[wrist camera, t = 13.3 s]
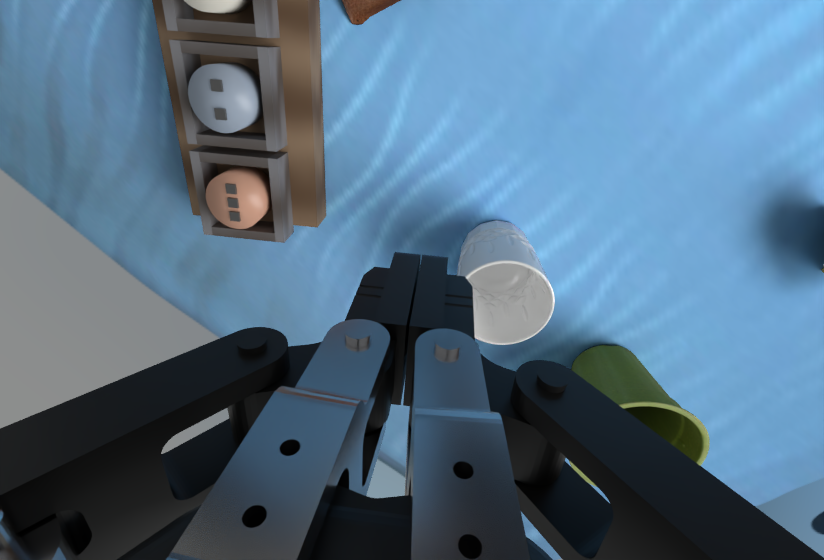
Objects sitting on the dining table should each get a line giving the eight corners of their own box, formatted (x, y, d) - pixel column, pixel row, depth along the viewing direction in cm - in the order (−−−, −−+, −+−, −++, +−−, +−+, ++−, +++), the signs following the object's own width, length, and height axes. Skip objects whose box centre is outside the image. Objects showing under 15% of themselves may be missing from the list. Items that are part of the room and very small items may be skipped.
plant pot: (580, 310, 46) (613, 385, 36) (682, 347, 47) (741, 429, 37) (529, 388, 51) (544, 471, 42) (620, 419, 52) (656, 508, 42)
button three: (219, 162, 38) (199, 172, 35) (272, 167, 38) (257, 177, 35) (226, 214, 40) (209, 227, 38) (277, 219, 40) (263, 232, 37)
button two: (203, 59, 34) (180, 61, 31) (263, 64, 34) (245, 67, 31) (213, 123, 37) (192, 130, 34) (269, 128, 36) (253, 136, 33)
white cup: (448, 278, 45) (445, 335, 37) (464, 207, 42) (464, 252, 33) (523, 292, 45) (538, 352, 37) (546, 221, 41) (568, 270, 33)
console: (160, -85, 33) (108, -105, 28) (316, -75, 32) (291, -94, 27) (210, 210, 44) (179, 231, 40) (326, 222, 44) (309, 245, 39)
